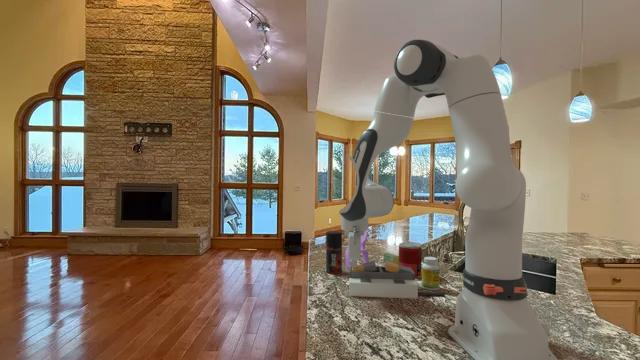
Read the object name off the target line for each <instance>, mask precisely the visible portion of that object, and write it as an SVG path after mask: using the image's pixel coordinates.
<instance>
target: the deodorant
mask: <svg viewBox="0 0 640 360" xmlns="http://www.w3.org/2000/svg"><path fill="white" fill-rule="evenodd" d="M325 234H326V235H325V237H326V238H325V248H326V250H325V253H326V254H325V263H326V264H325V273H326V274H329V275H340V274H342V273H343V232H342V231H340V230H330V231H326V233H325Z"/></svg>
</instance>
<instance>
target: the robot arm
mask: <svg viewBox="0 0 640 360" xmlns="http://www.w3.org/2000/svg"><path fill="white" fill-rule="evenodd" d="M393 70H394V73H393V74H390V75H388V76H387V77H386V78H385V79H384V82H383V83H382V86H381V87H380V90H379V94H378V97H377V100H376V103H375V107H374V112H373V116H372V119H371V121H370V123H369V125H368V127H367V129H366V130H365V131H363V132H362V134H361V135H360V137H359V138H358V141H357V143H356V146H355V149H354V151H353V155H352V156H351V159H352V160H353V162H354V164H355V166H356V170H357V173H358V187H357V190H356V194H355V196H354V198H353V200H352V201H351V202H350V204H349V205H348V206H347V207H346V208H345V209H344V210H342V211H341V212H340V229H341V230H342V231H344V235H345V236H347V241H348V246H347V247H348V258H349V259H350V262H351V267H352V268H357V265H358V261H360V260H361V256H362V252H361V236H363V235H364V231H366V232H367V231H369V219H373V218H380V217H385V216H387V215H389V214H390V213H392V211H393V208H394V205H395V198H394V195H393V192H392V191H391V189H390V188H388V187H387V186H384V185H380V184H378V183H376V182H375V181H373V180H371V179H370V178H369V175H370V173H371V172H370V171H371V170H372V166H373V164H374V161H375V160H376V158H377V157H378V156H379V155H380V154H382V153H383V152H385V151H386V150H390V149H392V148H394V147H397V146H399V145H401V144H402V143H403V142H405V140H407V138H408V136H409V135H410V132H411V130H412V127H413V122H414V118H415V114H416V108H417V107H418V103H419V101H420V100H421V98H423V97H425V98H427V99H430V98H436V97H439V96H444V95H445V99H446V103H447V108H448V113H449V118H450V122H451V127H452V132H453V136H454V143H455V167H456V180H455V192H456V195H457V197H458V199H459V200H460V201H461V202H462V203H463V204H464V205H465V206H467V207H468V208H470V214H469V215H470V216H469V220H468V225H467V229H466V232H465V235H464V237H465V240H464V241H465V243H464V245H465V246H464V247H465V248H464V249H465V250H464V251H465V253H464V256H465V258H464V259H465V260H464V262H465V264H464V265H465V267H464V268H463V270H462V271H463V272H462V285H463V288H462V290H461V291H460V293H459V294H458V295H457V296H456V299H455V300H456V302H455V317H454V325H451V326H450V327H448V330H447V333H448V334H449V336H450V337H451V338H452V339H453V340H454V341H455V342H456V343H457V344H458V345H460V347H461V348H463V349H464V350H465V352H466V353H468V355H470V356H471V357H472V358H473V359H474V360H559V359H557V356H555V354H554V353H553V351H552V350H551V349H550V346H549V338H548V337H549V336H550V332H551V331H550V330H551V329H550V327H549V325H548V323H545V322H544V323H543V322H541V321H540V319H539V317H538V314H537V310H535V309H533V307H532V306H531V304H530V302H529V300H528V295H529V294H528V291H527V290H528V287H527V283H526V281H525V277H524V275H523V232H524V224H525V212H526V211H525V210H526V197H527V195H526V193H527V180H526V178H525V175H524V173H523V172H522V171H521V170H520V169H519V168H518V167H516V166H515V165H514V161H513V156H512V154H513V153H512V148H511V140H510V127H509V124H508V118H507V115H506V111H505V106H504V102H503V98H502V93H501V90H500V86H499V83H498V79H497V77H496V75H495V72H494V70H493V68H492V66H491V65H490V63H489V60H488V59H487V58H486V57H485V56H484V55H481V54H476V53H471V54H466V55H463V56H461V57H458V56H457V55H455V54H453V53H451V51H449V50H448V49H446V48H444V47H443V46H440V45H439V44H436V43H433V42H431V41H429V40H426V39H411V40H409V41H407V42H405V43H404V44H402V46H401V47H400V48H399V49H398V51H397V53H396V55H395V56H394V61H393Z"/></svg>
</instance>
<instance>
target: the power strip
mask: <svg viewBox="0 0 640 360" xmlns="http://www.w3.org/2000/svg"><path fill="white" fill-rule="evenodd" d="M376 268H377V270H375V271H371V272H365V271H352V267H351V266H350V268H348V269H349V271H348V273H349V274H348V277H349V279H348V287H349V288H348V296H349V297H368V298H370V297H371V298H391V299H392V298H395V299H413V300H414V299H416V300H417V299H419V297H418V296H432V297H444V296H445V295H446V294H445V292H440V291H439V292H438V291H437V292H435V291H419V290H418V289H419V287H418V286H419V285H418V282H417V281H416V280H415V279H416V277H415V273H414V272H413V270H412V269H411V267H408V268H409V269H410V271H411V273H397V272H389V271H386V270H385V267H384V266H379V265H378V266H377V265H376Z"/></svg>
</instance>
